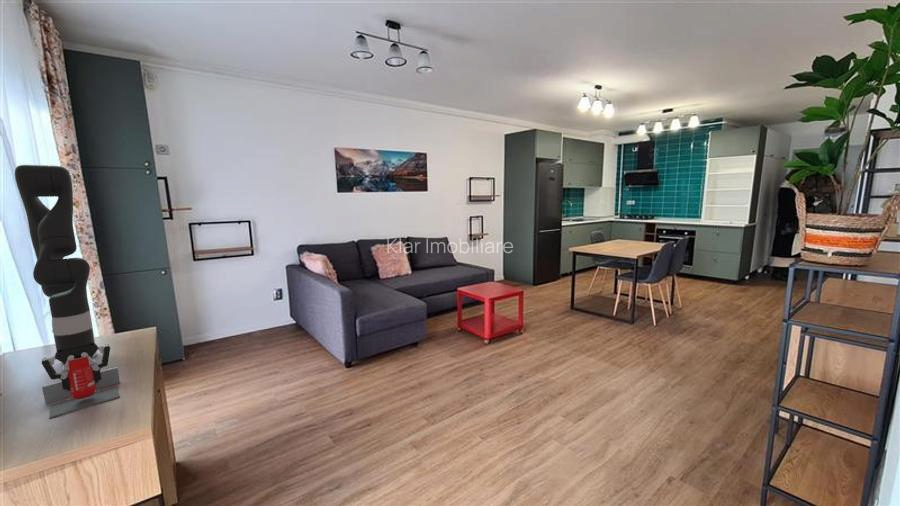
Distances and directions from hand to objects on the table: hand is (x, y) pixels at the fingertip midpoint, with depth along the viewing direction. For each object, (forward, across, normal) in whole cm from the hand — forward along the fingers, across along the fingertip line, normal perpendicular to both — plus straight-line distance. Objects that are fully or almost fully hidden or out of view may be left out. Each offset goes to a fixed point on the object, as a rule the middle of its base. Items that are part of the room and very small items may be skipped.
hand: (82, 385), depth 104 cm
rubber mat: (+5, 0, 0) cm, 5 cm away
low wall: (+5, 0, -8) cm, 9 cm away
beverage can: (+3, 0, 0) cm, 3 cm away
